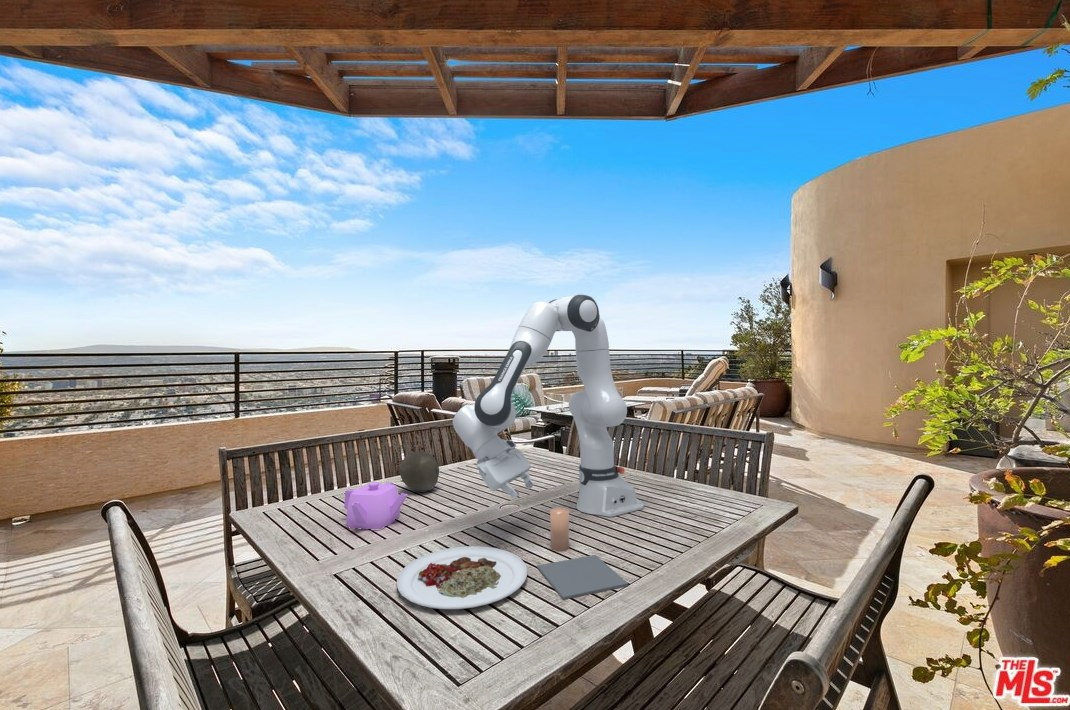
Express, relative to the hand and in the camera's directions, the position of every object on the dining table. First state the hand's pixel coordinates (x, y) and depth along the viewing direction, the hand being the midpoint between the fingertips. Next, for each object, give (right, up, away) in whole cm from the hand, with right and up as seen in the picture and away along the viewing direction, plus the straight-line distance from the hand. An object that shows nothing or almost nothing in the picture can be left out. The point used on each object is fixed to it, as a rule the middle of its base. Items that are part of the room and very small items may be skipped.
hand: (524, 491), depth 134 cm
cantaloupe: (-40, -14, +48) cm, 64 cm away
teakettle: (-47, -15, +17) cm, 52 cm away
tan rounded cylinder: (+10, -14, -4) cm, 17 cm away
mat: (+14, -14, -21) cm, 29 cm away
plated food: (-14, -15, -21) cm, 29 cm away
